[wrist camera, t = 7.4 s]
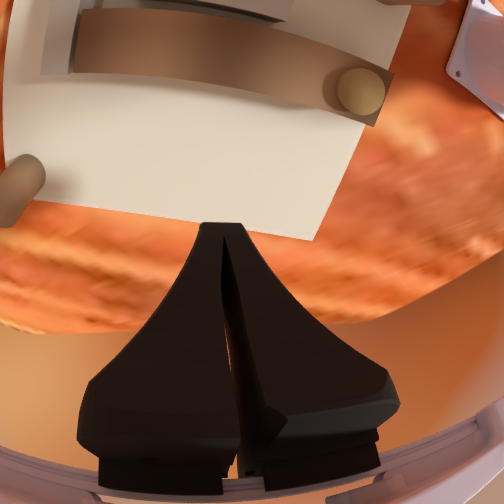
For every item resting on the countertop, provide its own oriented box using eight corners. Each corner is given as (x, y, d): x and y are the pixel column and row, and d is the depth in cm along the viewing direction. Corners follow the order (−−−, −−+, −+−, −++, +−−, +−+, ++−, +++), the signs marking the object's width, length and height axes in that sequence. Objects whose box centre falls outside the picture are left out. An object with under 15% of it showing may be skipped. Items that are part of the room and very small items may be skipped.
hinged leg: (367, 64, 14) (400, 75, 11) (350, 110, 16) (379, 131, 13) (104, 11, 10) (77, 8, 8) (95, 64, 12) (67, 75, 9)
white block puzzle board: (408, -22, 11) (465, -25, 7) (307, 228, 23) (328, 281, 19) (55, -86, 5) (12, -106, 1) (18, 186, 17) (-18, 232, 13)
